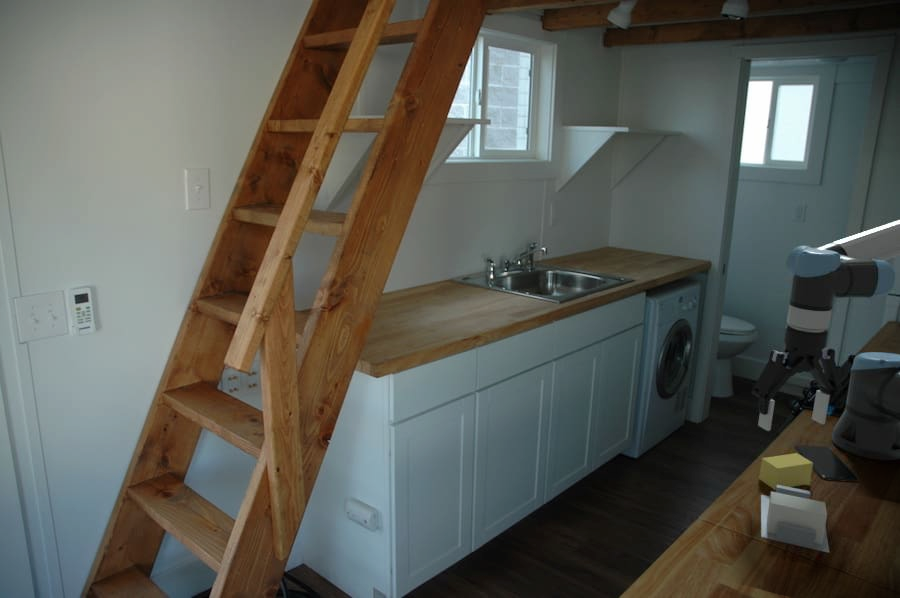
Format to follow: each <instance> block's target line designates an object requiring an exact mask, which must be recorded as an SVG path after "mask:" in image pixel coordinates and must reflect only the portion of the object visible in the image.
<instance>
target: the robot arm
mask: <svg viewBox="0 0 900 598" xmlns="http://www.w3.org/2000/svg"><path fill="white" fill-rule="evenodd" d="M897 257H900V219H898V220H895V221H892V222H888V223H885V224H882V225H880V226H877V227H874V228H871V229H868V230H865V231H862V232H859V233H856V234H853V235H850V236H848V237H844V238H841V239H839V240H835V241H832V242H829V243H826V244H822V245H820V246H816V247H815V246H811V245H799V246H797V247H795V248H793V249H792V250H791V251H790V252H789V253H788V255H787V257H786V261H785V266H786V270H787V272H788V274H789V275H790V276H792V283H791V292H790V298H789V305H788V312H787V318H786V322H787V325H786V326H785V330H784V331H785V332H784V338H783V342H784V344H785V349H784V351H783V352H782V351H777V350H775V349H773V350H771V351H770V353H769V358H768V361H767V363H766V365H765V367H764V369H763V370H762V372H761V374H760V375H759V377H758V379H757V380H756V383H755V384H754V386H753V388H752V390H751V395H754V396H755V397H758V398H759V401H758V408H757V411H758V413H759V417H758V424H757V426H758V427H760V428H762V429H763V430H765V431H767V432H770V431H771V428H772V421H773V415H774V409H775V402H776V400H774V399H773V398H775V395H776V394H778V393H779V391H780V390H781V389H782V388H783V386H784V385H785V384H786V383H787V382H788V380H789V379H790V378H791V377H794V376H795V375H796V374H799V373H803V372H805V373H810V374H811V376H812V378H813V379H814V380H815V383H816V385H818V387H819V389H820V390H819V389H818V390H817V389H816V393H815V398H814V404H813V410H812V414H811V415H812V416H811V420H813V421H814V422H817V423H818V424H820V425H826V420H827V419H826V418H827V413H828V408H830V404H831V400H832V396H837V394H838V391H841V389H842V387H843V386H842V383H841V379H840V375H839V371H838V368H837V365H836V361H835V360H836V359H835V358H836V350H835V349H834V348H831V347H828V346H827V342H828V334H829V332H828V329H829V328H830V325H831V324H830V323H831V318H832V311H833V306H834V300H835V299H845V298H847V299H852V298H854V299H855V298H859V299H860V298H861V299H862V298H863V299H865V298H866V299H872V298H879V297H884V296H886V295H888V294H889V293H890V292H891V291H892V290H893V289H894V287H895V283H896V273H895V270H894V268H893V266H892V265H891V264H890V263H889V262H888V260H891V259H894V258H897ZM820 361H821V363H820ZM847 388H848V389H847V393H846V394H847V395H846V402H845V408H844V411H843V413H841V416H840V418H839V420H838V421H837V423H836V424H835V426H834V427H833V430H832V435H831V441H832V442H833V444H834V445H836V446H837V447H838V448H840V449H842V450H843V451H846V452H847V453H850V454H853V455H855V456H859V457H863V458H866V459H871V460H876V461H898V460H900V354H899V353H891V352H881V351H879V352H878V351H877V352H876V351H874V352H873V351H870V352H867V351H866V352H860V353H859V354H857V355H856V356H855V357H854V359H853V363H852V366H851V368H850V375H849V381H848V387H847Z"/></svg>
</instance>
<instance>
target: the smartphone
mask: <svg viewBox="0 0 900 598" xmlns="http://www.w3.org/2000/svg"><path fill="white" fill-rule="evenodd" d="M794 448H795V450H796V449H797V450H796V451H797V453H798V454H799V455H801V456H803V457H804V458H806V459H807V460H809V461H811V462H812V463H813V467H812V470H813V471H814V470H815V471H816V472H817V473H818V474H819V475H820V476H821V477H822V478H824V479H831V480H846V481H845V482H848V481H858V482H859V477H858V476H857V475H856V474H855V473H854V472H853V471H852V470H851V469H850V468H849V466H847V465H846V464H845V463H844V462H843V460H841V459H840V458H839V456H837V455H836V453H834V452H833V451H832V450H831V449H830V448H829V447H828V446H823V445H808V444H807V445H804V444H797V445H795V446H794ZM815 471H814V472H815ZM816 472H815V473H816ZM817 473H816V474H817ZM818 474H817V475H818ZM819 475H818V476H819ZM820 476H819V477H820ZM822 478H821V479H822ZM824 479H823V480H824ZM831 480H830V481H831Z"/></svg>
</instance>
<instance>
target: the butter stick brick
mask: <svg viewBox="0 0 900 598" xmlns="http://www.w3.org/2000/svg"><path fill="white" fill-rule="evenodd" d="M812 467H813V463H812V462H811V461H809V460H807V459H806V458H804V457H803V456H802V455H801V454H800V453H799V452H793V453H789V454H788V453H787V454H781V455H780V454H779V455H774V456H768V457H761V463H760V469H759V475H758V476H759V477H758V479H759V480H760V481H761V482H762V483H764V484H766V485H767V486H769V487H770V488H771V489H772V490H775V491H776V485H781V486H786V487H791V488H794V487H800V486H806V485H807V486H811V485H810V484H811V479H812V471H813V468H812Z"/></svg>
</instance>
